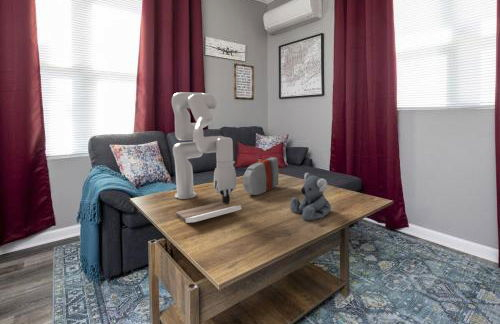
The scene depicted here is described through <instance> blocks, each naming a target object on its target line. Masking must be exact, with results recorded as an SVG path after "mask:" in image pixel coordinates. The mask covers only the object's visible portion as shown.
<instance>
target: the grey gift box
mask: <svg viewBox="0 0 500 324" xmlns="http://www.w3.org/2000/svg"><path fill="white" fill-rule="evenodd" d="M278 159H279V158H277V157H272V156H271V157H268V158H266V159H262V160H259V161H258V162H255V163H253V164H250V165H249V166H248V167H247V169H245V172H244V174H243V177H242V178H243V180H242V184H243V188H244V192H246V193H247V194H249V195H253V196H258V195H262V194H263V193H265V192H266V193H267V192H270V191H271V190H272V189H273V188H275V187H277V186H278V185H279V162H278V161H279V160H278Z"/></svg>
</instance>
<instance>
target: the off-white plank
mask: <svg viewBox="0 0 500 324" xmlns="http://www.w3.org/2000/svg"><path fill="white" fill-rule="evenodd" d="M240 210H242V205H241V204H239V205H234V206H228V208H224V209H220V210H216V211H213V212H209V213H205V214H201V215H197V216H193V217H189V218H185V221H186V222H185V224H187V223H197V222H200V221H204V220H207V219H211V218H215V217H219V216H222V215H223V216H224V215H226V214H230V213H233V212H237V211H240Z"/></svg>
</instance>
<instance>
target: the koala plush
mask: <svg viewBox="0 0 500 324" xmlns="http://www.w3.org/2000/svg"><path fill="white" fill-rule="evenodd" d="M303 179H304V183H303V185H302V187H301V191H300V192H301V194H302V195H303V196H304V197H303V199H302V200H301V202H300V200H299V198H298V197H292V198H291V201H290V204H289V209H290V211H292V212H293V213H296V214H301V218H302V219H303V221H314V220H317V219H323V218H325V216H327V215H328V214H329V213H330V211H331V209H332V206H331V203H330V202H329V200H327V198H326V197H325V195H324V191H326V190H327V189H328V181H327V179H324V177H323V178H321V177H319V176H317V175H312V174H311V173H309V172H308V171H307V172H305V173H304V178H303Z"/></svg>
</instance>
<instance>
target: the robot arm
mask: <svg viewBox="0 0 500 324" xmlns="http://www.w3.org/2000/svg"><path fill="white" fill-rule="evenodd" d="M171 106H172V111H173V114H174V134H175V135H174V136H175V139H177V140H179V141H181V142H178V143H175V144H174V145H173V146H172V155H173V159H174V167H175V183H176V184H175V185H176V193H174V198H175V199H177V198H178V200H188V199H189V198H190V199H193V198H195V197H197V193H196V192H195V191H194V172H193V165H192V163H191V162H190V161H189V160H190V159H196V158H197V159H198V158H201V157H202V156H203V155H204V154H211V153H215V154H216V155H215V156H216V167H215V168H214V172H213V189H214V192H215V194H220V195H221V196H222V204H224V205H229V204H230V199H231V197H230V196H231V194H232V192H233V191H236V190H237V175H236V174H237V173H236V170H235V169H236V168H235V166H234V165H235V164H236V161H235V160H234V148H233V147H234V145H233V144H234V143H233V139H232V138H231V137H227V136H223V135H211V136H210V135H209V136H204V130H203V128H206V127H207V126H209V125H210V124H212V122H213V120H214V117H213V115H212V112H211V111H214V110H215V109H216V108H217V99H216V97H215V96H214V95H213V94H211V93H206V92H205V93H204V92H189V91H188V92H187V91H186V92H184V91H183V92H181V91H180V92H176V93H174V94H173V95H172V96H171ZM189 109H190V111H191V113H192V116H193V118H194V120H195V122H191V114H190V112H189ZM182 141H183V142H182ZM184 141H186V142H184Z"/></svg>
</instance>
